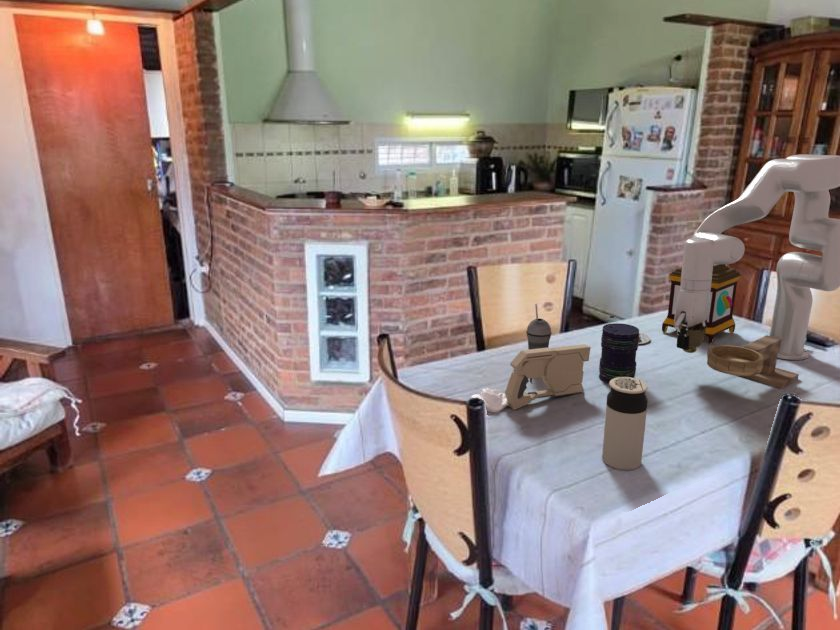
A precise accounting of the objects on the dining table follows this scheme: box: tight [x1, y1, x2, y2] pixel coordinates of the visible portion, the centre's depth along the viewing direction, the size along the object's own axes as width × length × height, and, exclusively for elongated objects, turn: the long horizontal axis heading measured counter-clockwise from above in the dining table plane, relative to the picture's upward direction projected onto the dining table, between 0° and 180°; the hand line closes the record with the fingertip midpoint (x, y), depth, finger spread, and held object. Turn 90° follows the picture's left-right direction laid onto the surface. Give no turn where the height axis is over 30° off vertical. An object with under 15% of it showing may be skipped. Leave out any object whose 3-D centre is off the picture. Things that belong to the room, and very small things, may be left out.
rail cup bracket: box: [706, 334, 799, 389], centre depth 159 cm, size 30×14×12 cm, turn 127°
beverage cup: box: [526, 303, 552, 350], centre depth 172 cm, size 7×7×20 cm
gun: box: [504, 343, 592, 411], centre depth 153 cm, size 24×3×15 cm, turn 116°
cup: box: [682, 322, 706, 354], centre depth 164 cm, size 8×7×8 cm
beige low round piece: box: [638, 332, 651, 345], centre depth 197 cm, size 12×12×5 cm
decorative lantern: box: [661, 264, 742, 345], centre depth 197 cm, size 20×20×30 cm
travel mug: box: [601, 377, 649, 471], centre depth 123 cm, size 8×8×18 cm
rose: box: [470, 387, 509, 413], centre depth 153 cm, size 10×4×10 cm
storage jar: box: [598, 315, 640, 385], centre depth 164 cm, size 10×10×18 cm
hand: (689, 344), depth 165 cm, fingers closed on cup, 6 cm apart
